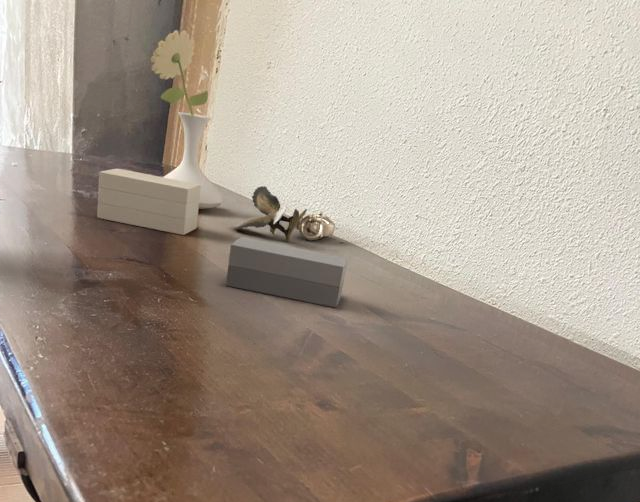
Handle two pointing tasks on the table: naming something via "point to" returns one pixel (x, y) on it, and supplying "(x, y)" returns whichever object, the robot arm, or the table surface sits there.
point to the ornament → (315, 226)
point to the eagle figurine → (271, 213)
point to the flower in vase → (170, 63)
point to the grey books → (286, 271)
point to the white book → (149, 186)
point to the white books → (147, 211)
